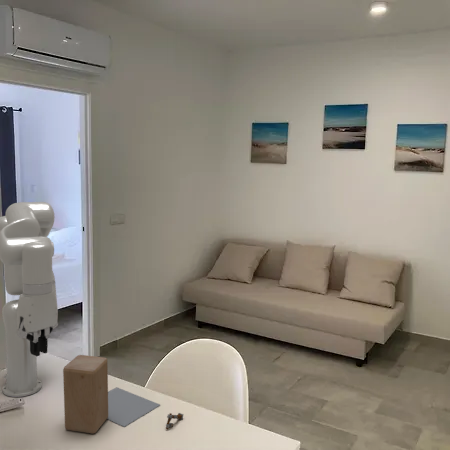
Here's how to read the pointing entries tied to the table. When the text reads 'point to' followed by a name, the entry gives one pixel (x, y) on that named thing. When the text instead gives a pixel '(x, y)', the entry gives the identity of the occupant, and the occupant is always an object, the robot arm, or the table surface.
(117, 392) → the mat
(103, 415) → the wooden block
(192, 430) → the table surface
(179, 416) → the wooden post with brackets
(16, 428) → the table surface
